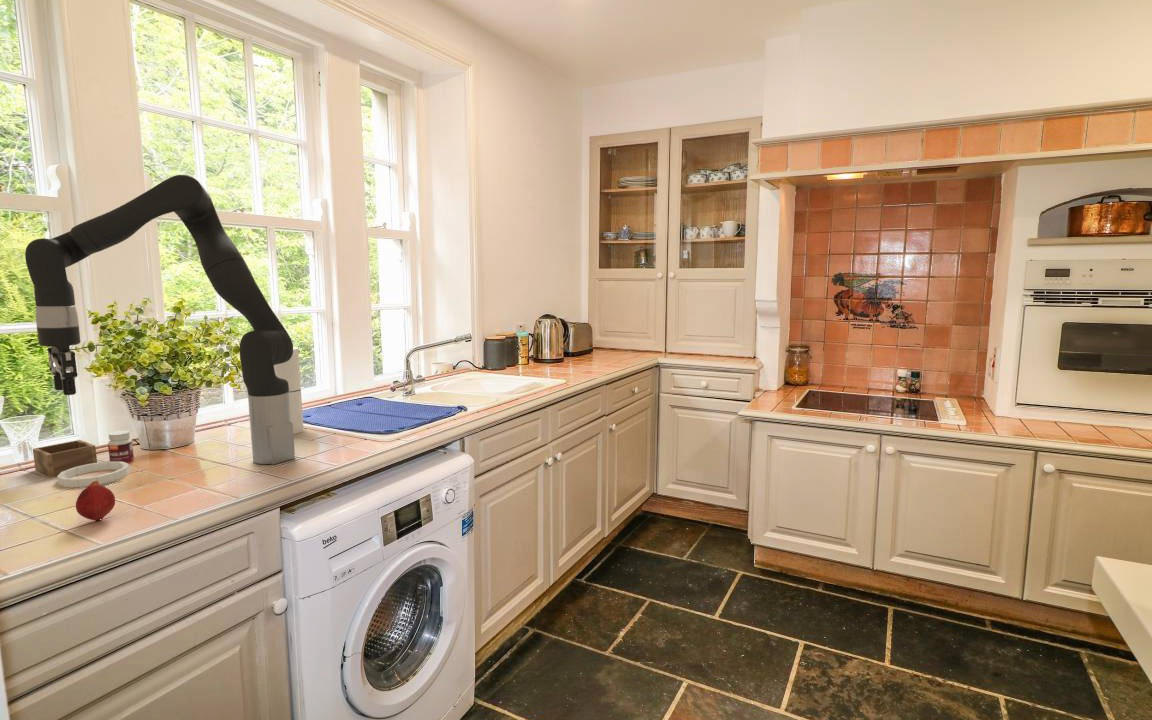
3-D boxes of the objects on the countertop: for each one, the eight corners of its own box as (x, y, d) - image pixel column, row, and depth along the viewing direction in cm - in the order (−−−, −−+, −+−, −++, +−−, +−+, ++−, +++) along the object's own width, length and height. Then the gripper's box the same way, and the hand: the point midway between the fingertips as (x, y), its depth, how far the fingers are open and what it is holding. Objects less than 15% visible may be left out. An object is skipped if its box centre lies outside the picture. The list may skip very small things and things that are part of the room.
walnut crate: (98, 469, 143) (95, 445, 142) (50, 480, 135) (47, 455, 134) (82, 463, 147) (79, 439, 146) (35, 473, 140) (32, 448, 139)
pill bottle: (108, 470, 142) (104, 436, 141) (112, 464, 147) (109, 431, 145) (132, 467, 145) (129, 433, 143) (136, 461, 149) (132, 429, 147)
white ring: (139, 477, 137) (137, 467, 137) (72, 494, 127) (71, 483, 126) (115, 468, 144) (114, 458, 143) (50, 483, 133) (49, 472, 133)
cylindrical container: (284, 435, 172) (278, 351, 169) (272, 431, 177) (266, 348, 173) (308, 430, 178) (302, 348, 174) (296, 426, 182) (290, 346, 179)
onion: (85, 529, 110) (80, 488, 108) (73, 522, 113) (67, 482, 111) (122, 519, 114) (117, 479, 113) (109, 512, 117) (104, 473, 116)
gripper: (86, 326, 138) (93, 394, 140) (70, 322, 147) (77, 386, 149) (43, 328, 132) (51, 399, 135) (30, 323, 141) (38, 390, 143)
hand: (65, 392), depth 142 cm, fingers open, 8 cm apart
